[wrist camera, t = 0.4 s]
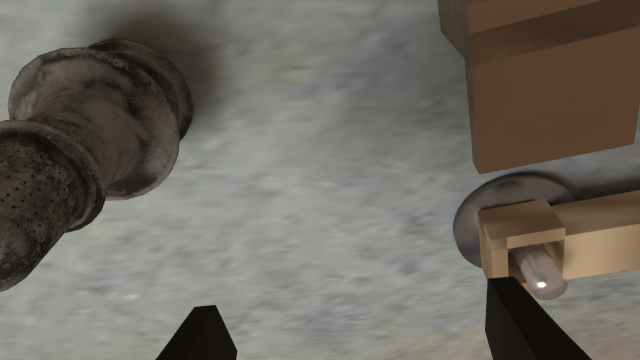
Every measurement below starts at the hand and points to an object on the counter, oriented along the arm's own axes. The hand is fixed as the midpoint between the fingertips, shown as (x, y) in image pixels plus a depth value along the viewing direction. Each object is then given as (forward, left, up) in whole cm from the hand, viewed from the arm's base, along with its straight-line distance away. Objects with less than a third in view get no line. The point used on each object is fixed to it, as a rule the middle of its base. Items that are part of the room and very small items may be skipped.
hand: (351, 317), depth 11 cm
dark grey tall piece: (+5, +9, -10) cm, 14 cm away
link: (-6, -11, -9) cm, 15 cm away
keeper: (+3, -7, -10) cm, 13 cm away
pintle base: (-6, -7, -10) cm, 14 cm away
